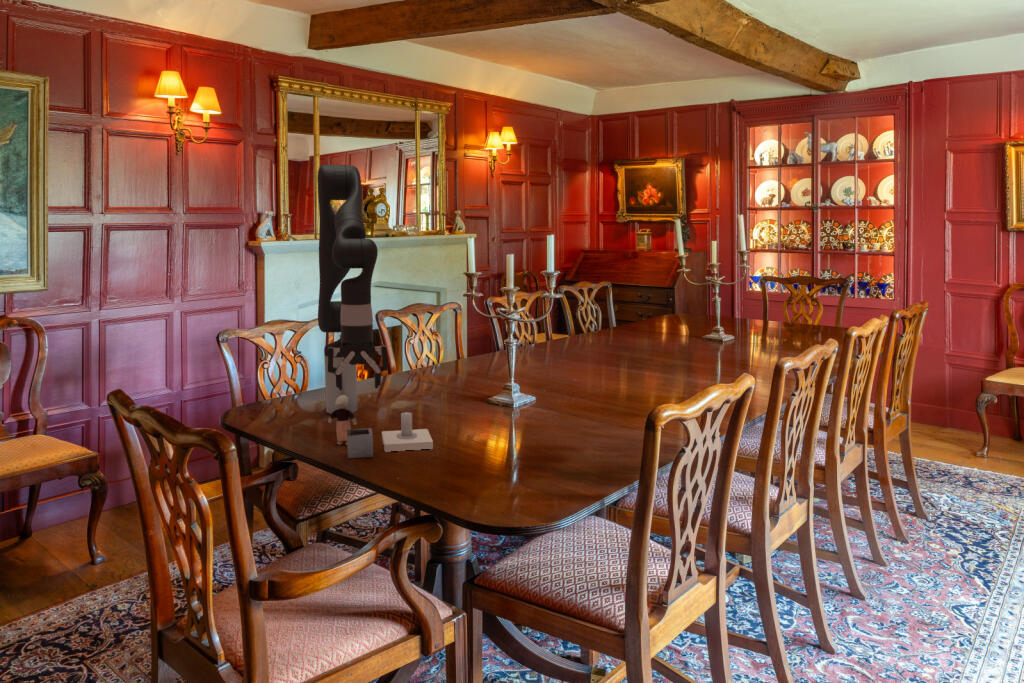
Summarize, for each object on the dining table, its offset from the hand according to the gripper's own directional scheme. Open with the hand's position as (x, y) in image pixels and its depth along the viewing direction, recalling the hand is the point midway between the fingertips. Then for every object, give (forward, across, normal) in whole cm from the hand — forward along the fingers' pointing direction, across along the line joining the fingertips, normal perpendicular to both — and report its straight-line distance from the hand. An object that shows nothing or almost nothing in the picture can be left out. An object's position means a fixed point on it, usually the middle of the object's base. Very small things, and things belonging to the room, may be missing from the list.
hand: (358, 388), depth 184 cm
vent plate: (+16, -12, -6) cm, 21 cm away
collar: (+16, 0, 0) cm, 17 cm away
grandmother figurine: (+17, +4, -10) cm, 20 cm away
